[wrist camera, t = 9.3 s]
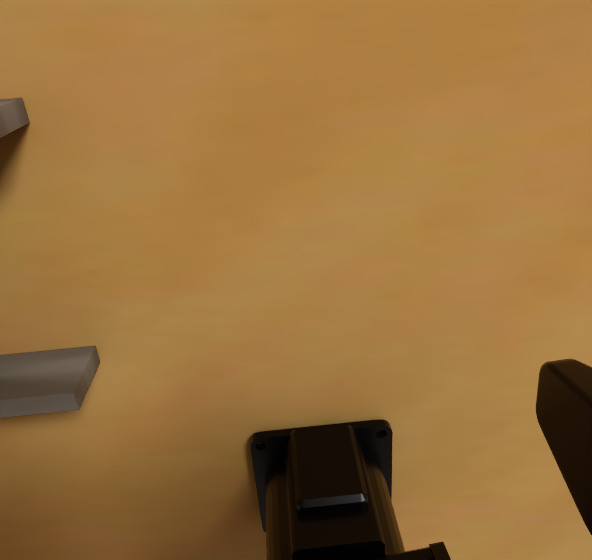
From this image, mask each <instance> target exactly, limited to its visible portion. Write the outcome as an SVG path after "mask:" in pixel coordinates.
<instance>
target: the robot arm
mask: <svg viewBox="0 0 592 560" xmlns="http://www.w3.org/2000/svg"><path fill="white" fill-rule="evenodd" d="M536 415H537V419H538V422H539V425H540V427H541V429H542V432H543V434H544V436H545V438H546V440H547V443H548V445H549V447H550V449H551V451H552V454H553V456H554V458H555V460H556V462H557V464H558V467H559V469H560V471H561V473H562V475H563V478H564V480H565V482H566V484H567V486H568V489H569V491H570V493H571V495H572V497H573V500H574V502H575V504H576V506H577V508H578V510H579V512H580V514H581V516H582V518H583V521H584V523H585V524H586V526H587V528H588V530H589V532H590V533H591V535H592V367H590V366H588V365H586V364H583V363H581V362H579V361H577V360H574V359H564V360H557V361H550V362H546V363H544V364H543V365H542V367H541V369H540V373H539V382H538V391H537V400H536ZM379 430H383V431H381V432H377V431H379ZM260 442H264V443H265V444H258V443H260ZM251 453H252V460H253V467H254V473H255V480H256V486H257V493H258V500H259V506H260V513H261V520H262V526H263V530H264V532H265V533H266V543H267V560H451V559H450V557H449V554H448V552H447V550H446V547H445V545H444V543H443V542H439V543H434V544H429V547H427V548H422V549H417V550H412V551H407V552H405V549H404V546H403V542H402V538H401V535H400V531H399V527H398V524H397V520H396V517H395V513H394V509H393V506H392V502H391V490H392V430H391V427H390V424H389V423H388V422H387V421H385V420H370V421H361V422H351V423H341V424H332V425H322V426H312V427H303V428H293V429H283V430H274V431H264V432H258V433H255V434H254V435H253V436H252V437H251Z"/></svg>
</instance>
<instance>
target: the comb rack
mask: <svg viewBox="0 0 592 560" xmlns="http://www.w3.org/2000/svg"><path fill="white" fill-rule="evenodd" d="M28 123H30V122H29V119H28V116H27V112H26V109H25V106H24V102H23V99H22V98H14V99H2V100H0V138H1V137H3V136H5V135H7V134H8V133H10V132H12V131H14V130H16V129H18V128H20V127H22V126H24V125H26V124H28ZM99 363H100V359H99V356H98V353H97V349H96V346H90V347H79V348H69V349H59V350H49V351H39V352H29V353H18V354H8V355H0V418H3V417H13V416H23V415H33V414H43V413H53V412H62V411H72V410H79V409H80V407H81V404H82V402H83V400H84V398H85V395H86V393H87V391H88V388H89V386H90V384H91V382H92V379H93V377H94V375H95V372H96V370H97V368H98V366H99Z"/></svg>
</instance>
